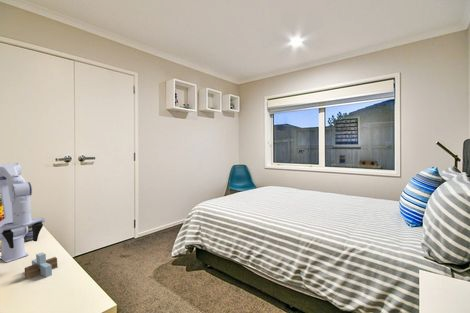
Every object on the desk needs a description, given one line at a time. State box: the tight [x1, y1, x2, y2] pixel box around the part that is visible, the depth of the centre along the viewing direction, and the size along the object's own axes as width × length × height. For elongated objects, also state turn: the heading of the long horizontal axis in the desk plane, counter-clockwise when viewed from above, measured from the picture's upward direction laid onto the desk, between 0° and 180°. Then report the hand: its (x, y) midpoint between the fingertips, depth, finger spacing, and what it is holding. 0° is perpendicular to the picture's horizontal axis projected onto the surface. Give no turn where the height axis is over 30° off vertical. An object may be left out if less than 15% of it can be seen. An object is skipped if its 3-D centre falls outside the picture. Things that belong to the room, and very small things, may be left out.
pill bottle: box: [24, 225, 33, 243], centre depth 128 cm, size 6×6×11 cm
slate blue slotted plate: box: [31, 252, 53, 278], centre depth 93 cm, size 12×2×8 cm, turn 61°
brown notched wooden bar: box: [24, 256, 58, 280], centre depth 94 cm, size 2×10×4 cm, turn 151°
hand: (23, 244), depth 96 cm, fingers open, 7 cm apart
